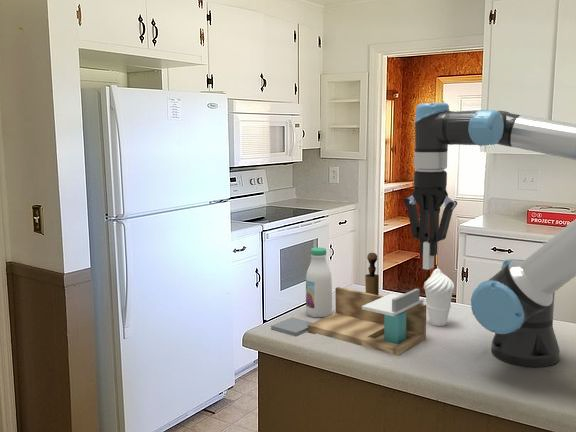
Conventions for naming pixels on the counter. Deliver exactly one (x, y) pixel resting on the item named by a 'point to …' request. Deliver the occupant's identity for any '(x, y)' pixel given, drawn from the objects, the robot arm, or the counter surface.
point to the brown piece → (368, 323)
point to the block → (395, 328)
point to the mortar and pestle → (372, 276)
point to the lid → (394, 303)
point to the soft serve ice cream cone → (438, 297)
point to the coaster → (292, 326)
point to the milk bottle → (318, 285)
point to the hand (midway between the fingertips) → (428, 268)
